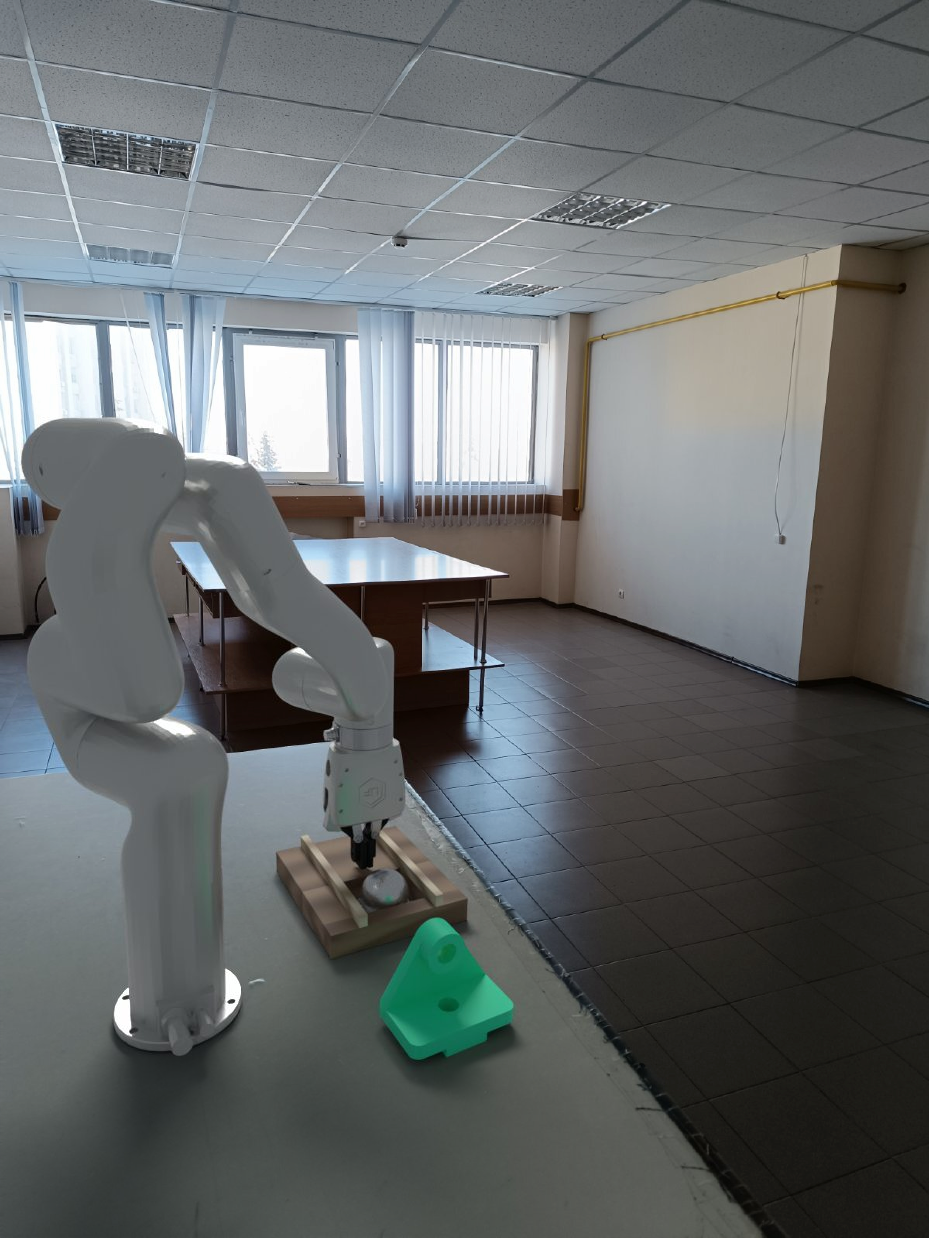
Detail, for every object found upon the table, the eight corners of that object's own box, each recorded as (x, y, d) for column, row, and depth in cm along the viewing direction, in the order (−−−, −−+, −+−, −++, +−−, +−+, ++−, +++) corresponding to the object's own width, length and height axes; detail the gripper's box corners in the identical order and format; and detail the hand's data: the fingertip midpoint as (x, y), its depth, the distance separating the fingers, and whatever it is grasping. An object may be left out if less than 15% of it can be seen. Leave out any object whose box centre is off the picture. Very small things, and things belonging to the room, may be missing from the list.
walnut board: (466, 919, 102) (468, 887, 101) (331, 959, 94) (331, 924, 93) (395, 844, 121) (395, 816, 120) (276, 871, 112) (276, 841, 111)
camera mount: (413, 1072, 77) (415, 977, 75) (379, 1023, 84) (379, 934, 82) (516, 1029, 84) (521, 940, 81) (477, 987, 90) (480, 903, 88)
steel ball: (375, 854, 102) (384, 864, 107) (346, 895, 100) (357, 904, 105) (413, 880, 100) (421, 890, 105) (384, 923, 98) (394, 931, 103)
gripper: (317, 752, 97) (318, 890, 101) (428, 734, 104) (425, 864, 108) (298, 732, 104) (299, 863, 107) (404, 716, 111) (402, 840, 115)
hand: (363, 863), depth 108 cm, fingers closed
